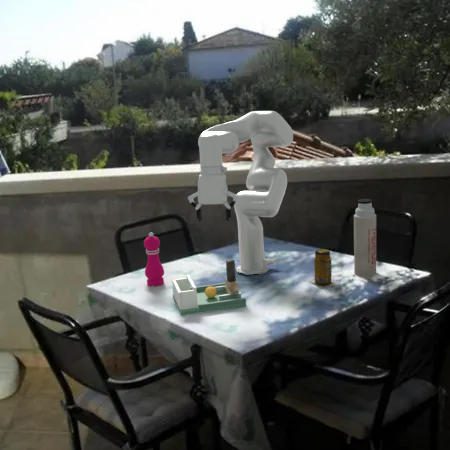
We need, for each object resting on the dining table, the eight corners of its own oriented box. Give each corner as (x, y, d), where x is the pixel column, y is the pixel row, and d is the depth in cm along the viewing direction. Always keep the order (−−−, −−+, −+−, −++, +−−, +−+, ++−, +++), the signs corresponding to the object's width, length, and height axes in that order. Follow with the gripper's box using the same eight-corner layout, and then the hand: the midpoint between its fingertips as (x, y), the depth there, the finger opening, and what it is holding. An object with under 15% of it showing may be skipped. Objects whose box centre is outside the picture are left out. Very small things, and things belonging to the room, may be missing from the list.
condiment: (327, 278, 233) (326, 247, 230) (338, 285, 226) (338, 252, 223) (309, 281, 231) (308, 250, 228) (320, 288, 223) (319, 256, 220)
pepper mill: (162, 286, 235) (157, 234, 230) (143, 286, 236) (138, 235, 231) (167, 280, 242) (163, 229, 237) (149, 280, 243) (144, 229, 238)
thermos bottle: (380, 273, 234) (380, 199, 227) (363, 278, 231) (363, 203, 224) (366, 268, 241) (366, 196, 234) (349, 272, 237) (349, 199, 231)
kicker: (234, 290, 222) (232, 257, 219) (238, 296, 216) (236, 262, 213) (226, 291, 221) (224, 259, 218) (230, 297, 216) (228, 263, 213)
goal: (190, 293, 223) (188, 274, 221) (197, 307, 209) (196, 287, 208) (173, 295, 221) (171, 276, 220) (179, 309, 208) (178, 289, 206)
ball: (215, 295, 220) (214, 284, 219) (218, 299, 216) (217, 287, 215) (204, 296, 219) (203, 285, 218) (206, 300, 215) (205, 289, 214)
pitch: (233, 288, 228) (232, 281, 227) (246, 306, 211) (245, 298, 210) (172, 297, 224) (172, 289, 223) (181, 315, 207) (180, 307, 206)
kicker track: (234, 289, 224) (234, 284, 223) (241, 298, 215) (241, 293, 214) (213, 292, 222) (213, 287, 222) (219, 301, 213) (219, 296, 213)
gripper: (238, 168, 217) (240, 217, 221) (188, 170, 219) (191, 218, 223) (235, 171, 210) (238, 222, 214) (184, 173, 212) (187, 223, 216)
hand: (214, 220), depth 218 cm, fingers open, 9 cm apart
